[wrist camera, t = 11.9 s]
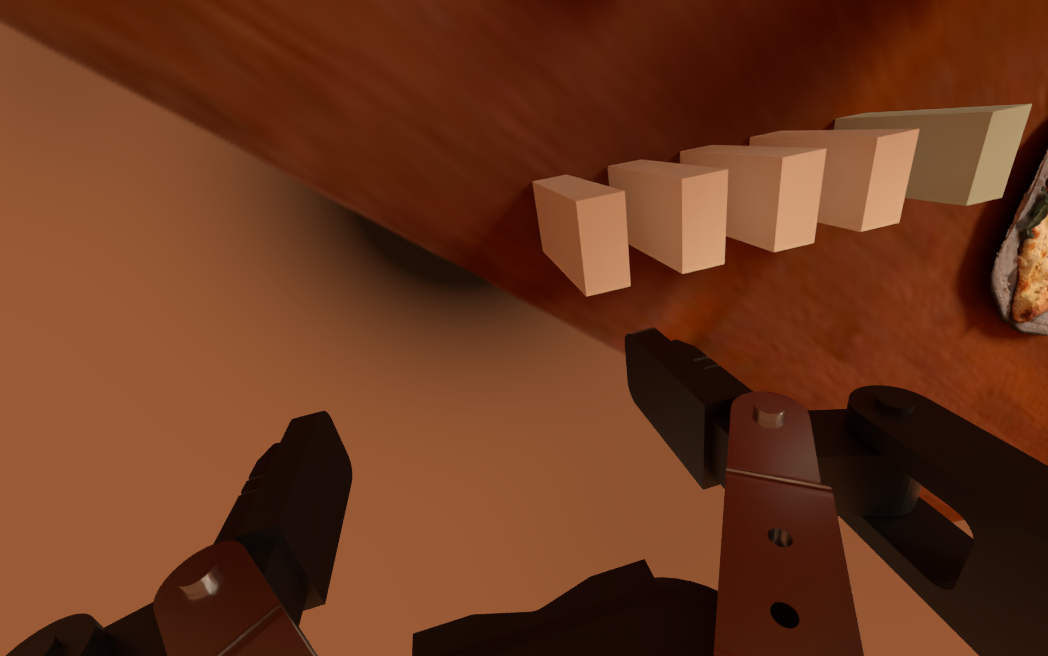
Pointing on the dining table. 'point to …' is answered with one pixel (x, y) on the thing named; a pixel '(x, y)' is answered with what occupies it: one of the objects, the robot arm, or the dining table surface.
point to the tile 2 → (675, 211)
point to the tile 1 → (584, 232)
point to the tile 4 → (856, 172)
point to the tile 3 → (767, 191)
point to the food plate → (1025, 262)
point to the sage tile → (955, 149)
